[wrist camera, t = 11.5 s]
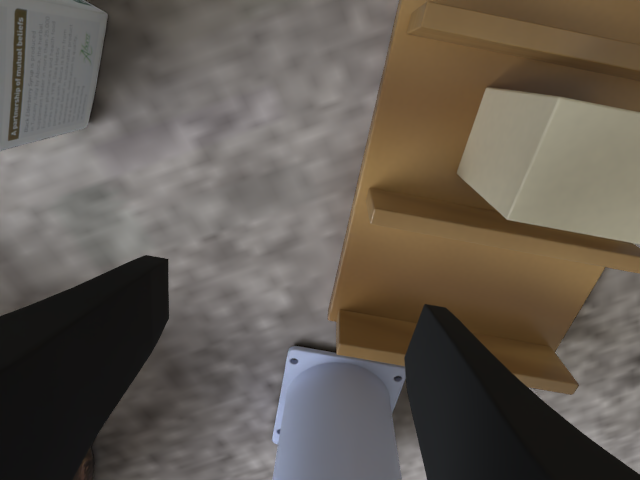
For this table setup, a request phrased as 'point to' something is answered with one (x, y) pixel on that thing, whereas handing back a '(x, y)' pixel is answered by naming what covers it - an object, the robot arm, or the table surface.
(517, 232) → the dish rack
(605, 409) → the table surface
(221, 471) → the table surface
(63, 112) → the syrup box
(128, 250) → the table surface
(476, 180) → the block
